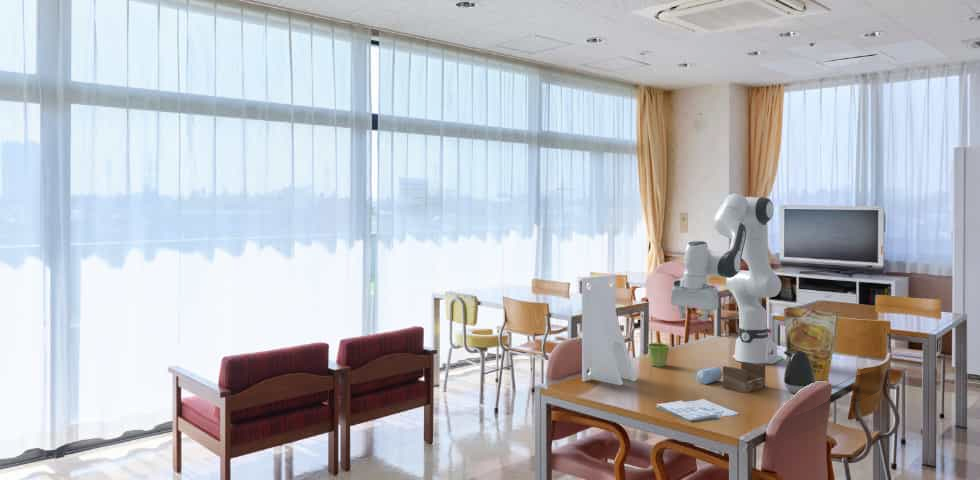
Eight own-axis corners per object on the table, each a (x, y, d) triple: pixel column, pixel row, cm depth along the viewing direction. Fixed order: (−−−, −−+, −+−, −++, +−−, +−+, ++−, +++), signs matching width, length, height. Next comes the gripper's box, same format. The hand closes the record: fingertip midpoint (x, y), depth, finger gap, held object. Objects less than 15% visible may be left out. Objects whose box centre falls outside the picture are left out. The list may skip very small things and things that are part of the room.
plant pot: (668, 363, 306) (668, 343, 306) (671, 368, 296) (671, 347, 296) (646, 363, 307) (646, 343, 306) (648, 367, 297) (648, 347, 297)
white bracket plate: (612, 387, 265) (612, 279, 263) (582, 380, 275) (581, 277, 274) (643, 378, 278) (643, 276, 277) (613, 372, 289) (613, 274, 287)
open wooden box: (742, 382, 271) (743, 361, 271) (765, 386, 264) (765, 365, 264) (722, 388, 262) (722, 366, 262) (745, 392, 255) (745, 370, 255)
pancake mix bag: (787, 377, 279) (787, 305, 278) (837, 385, 265) (838, 310, 264) (779, 379, 274) (779, 307, 273) (830, 388, 260) (831, 312, 259)
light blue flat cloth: (654, 408, 238) (654, 402, 238) (705, 402, 245) (705, 396, 245) (690, 424, 220) (690, 417, 220) (743, 417, 227) (743, 410, 227)
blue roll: (710, 379, 276) (710, 365, 276) (722, 381, 272) (722, 368, 272) (696, 383, 270) (696, 369, 270) (708, 385, 266) (708, 371, 266)
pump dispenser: (788, 387, 262) (788, 346, 261) (818, 392, 255) (818, 349, 255) (779, 393, 254) (779, 350, 254) (810, 397, 248) (810, 354, 247)
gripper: (723, 285, 266) (721, 322, 266) (679, 281, 283) (677, 316, 283) (712, 285, 262) (710, 323, 262) (668, 281, 279) (667, 316, 279)
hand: (693, 319), depth 272 cm, fingers open, 8 cm apart
